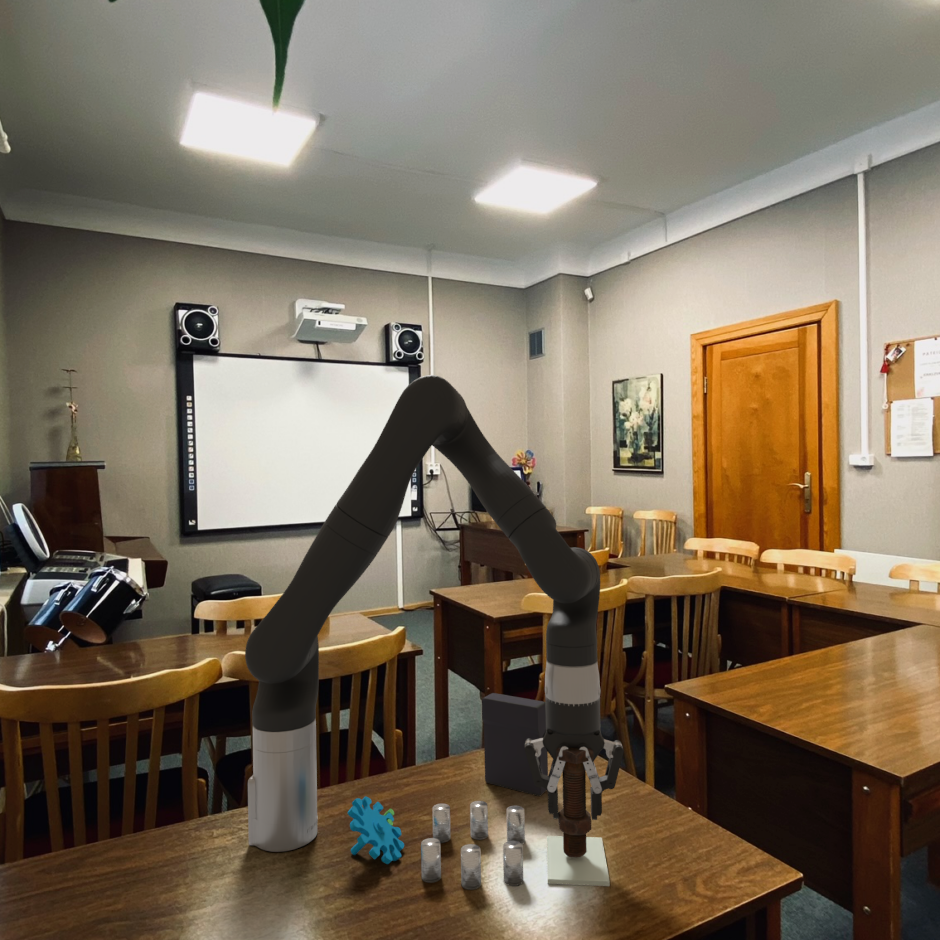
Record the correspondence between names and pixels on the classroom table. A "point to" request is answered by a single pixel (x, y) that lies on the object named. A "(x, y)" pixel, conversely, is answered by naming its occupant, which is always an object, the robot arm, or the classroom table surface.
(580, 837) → the bolt
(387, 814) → the gear
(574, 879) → the plate
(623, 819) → the classroom table surface
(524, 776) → the dark grey slab
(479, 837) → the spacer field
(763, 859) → the classroom table surface
